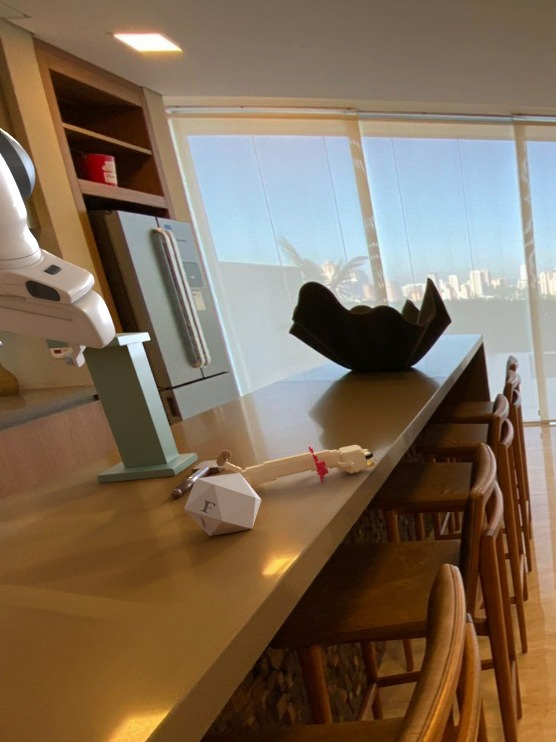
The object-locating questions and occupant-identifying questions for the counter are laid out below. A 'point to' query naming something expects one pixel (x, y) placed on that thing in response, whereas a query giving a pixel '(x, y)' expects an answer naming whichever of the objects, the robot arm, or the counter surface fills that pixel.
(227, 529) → the die
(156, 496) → the counter surface
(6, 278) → the robot arm
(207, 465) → the spoon
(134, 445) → the spoon stand
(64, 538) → the counter surface
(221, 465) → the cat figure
